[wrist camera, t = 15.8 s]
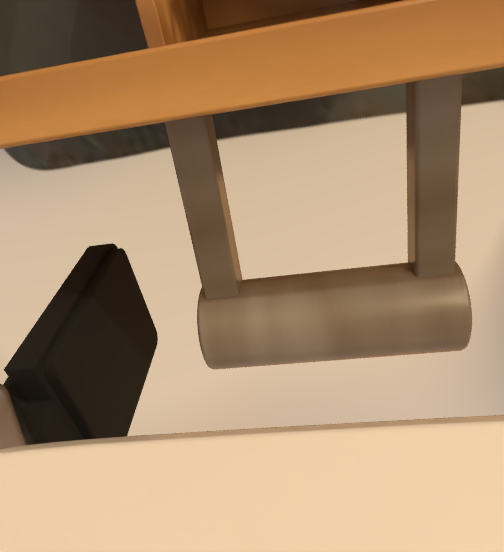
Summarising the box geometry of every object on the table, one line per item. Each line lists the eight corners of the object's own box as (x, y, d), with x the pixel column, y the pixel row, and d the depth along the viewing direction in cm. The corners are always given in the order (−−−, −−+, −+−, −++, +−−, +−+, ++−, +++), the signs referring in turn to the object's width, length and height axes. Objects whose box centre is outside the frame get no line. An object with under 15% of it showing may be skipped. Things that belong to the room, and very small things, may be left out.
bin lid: (-195, 112, 6) (-6, 455, 8) (1036, -120, 4) (790, 415, 6) (153, 78, 19) (183, 208, 22) (453, 25, 18) (449, 173, 20)
